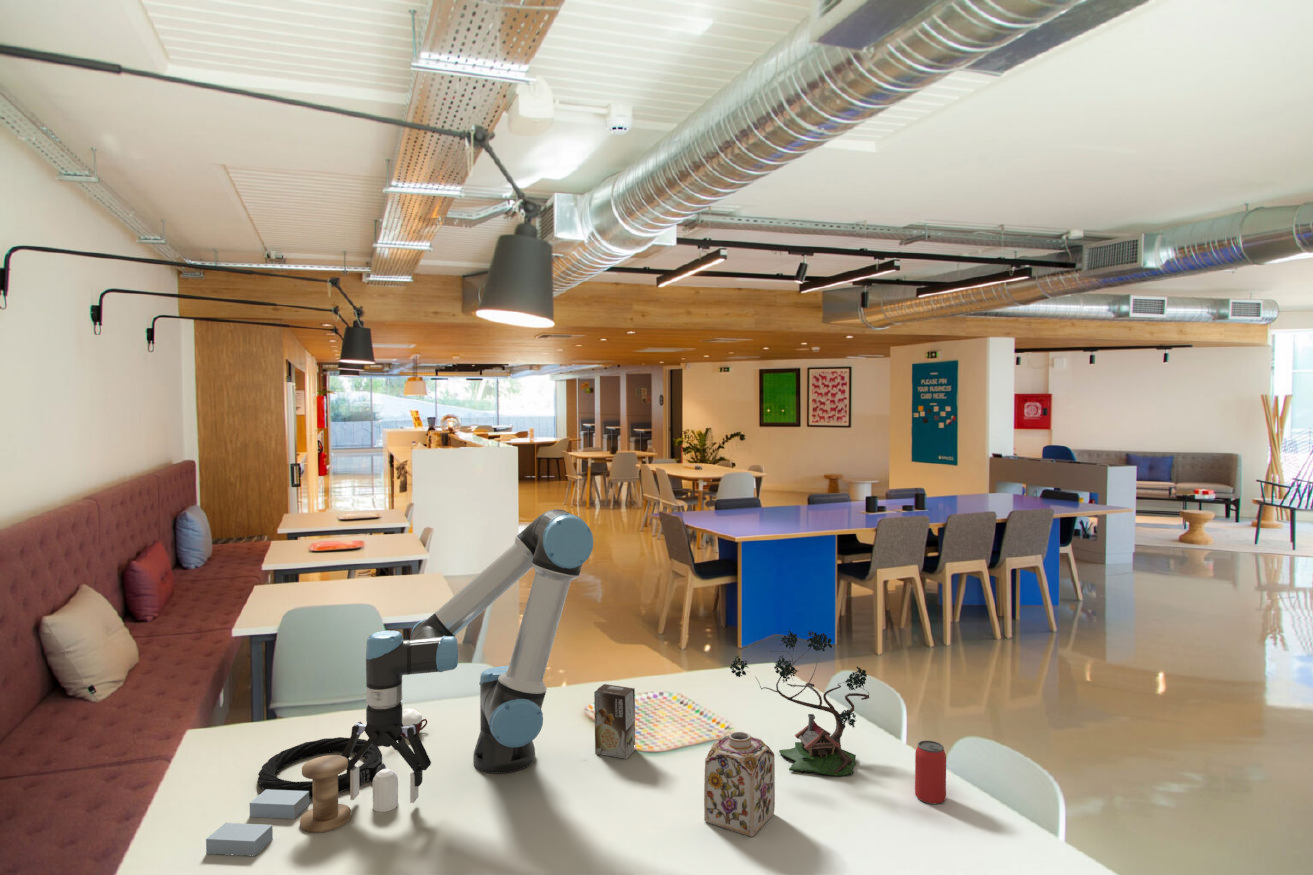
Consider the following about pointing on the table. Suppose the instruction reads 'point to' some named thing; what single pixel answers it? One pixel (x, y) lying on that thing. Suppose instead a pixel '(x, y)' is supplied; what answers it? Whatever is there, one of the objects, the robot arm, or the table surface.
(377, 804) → the capsule
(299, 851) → the table surface
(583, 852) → the table surface
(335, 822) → the knob
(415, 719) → the cocoa
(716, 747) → the decorative jar
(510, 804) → the table surface
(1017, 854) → the table surface
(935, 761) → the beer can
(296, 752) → the cable lock
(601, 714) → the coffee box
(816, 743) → the bonsai tree
